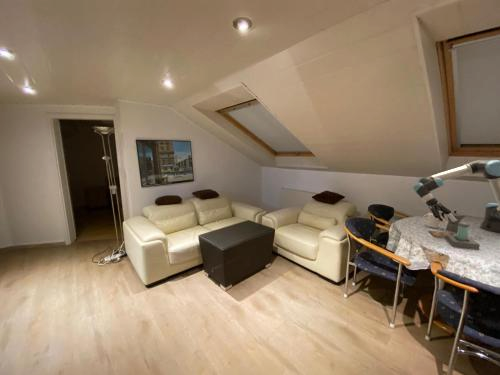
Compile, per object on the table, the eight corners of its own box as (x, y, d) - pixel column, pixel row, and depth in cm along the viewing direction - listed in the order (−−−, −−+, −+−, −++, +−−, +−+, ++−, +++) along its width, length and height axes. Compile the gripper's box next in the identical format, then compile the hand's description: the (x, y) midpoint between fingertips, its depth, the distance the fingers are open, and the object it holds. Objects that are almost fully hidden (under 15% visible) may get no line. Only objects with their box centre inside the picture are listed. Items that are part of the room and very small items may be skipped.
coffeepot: (464, 231, 180) (467, 211, 177) (461, 234, 175) (464, 213, 172) (441, 226, 193) (443, 207, 190) (437, 229, 188) (440, 209, 184)
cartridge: (464, 243, 160) (467, 222, 157) (468, 246, 155) (471, 225, 152) (454, 241, 163) (457, 221, 160) (457, 245, 157) (460, 224, 154)
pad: (452, 233, 177) (452, 232, 176) (459, 239, 166) (459, 238, 166) (428, 231, 183) (428, 230, 183) (433, 237, 173) (433, 235, 173)
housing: (468, 241, 162) (469, 236, 161) (478, 249, 150) (479, 244, 149) (445, 239, 168) (446, 234, 167) (453, 246, 156) (453, 241, 155)
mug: (421, 225, 198) (422, 213, 196) (423, 223, 203) (424, 211, 201) (437, 228, 189) (439, 215, 187) (439, 226, 194) (441, 213, 192)
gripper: (433, 200, 181) (454, 222, 170) (417, 204, 171) (437, 228, 160) (442, 195, 175) (463, 217, 165) (425, 199, 165) (447, 223, 155)
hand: (450, 222), depth 162 cm, fingers open, 13 cm apart
